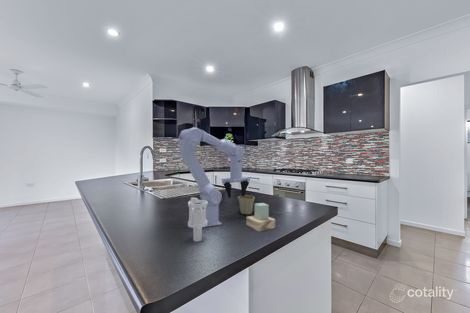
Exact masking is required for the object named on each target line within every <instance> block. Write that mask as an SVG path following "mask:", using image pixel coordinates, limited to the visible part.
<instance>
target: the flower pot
mask: <svg viewBox="0 0 470 313" xmlns="http://www.w3.org/2000/svg"><path fill="white" fill-rule="evenodd" d="M237 199H238V202H239V209H240V214H243V215H251V214H252V213H253V207H254V202H255V199H256V197H255V196H254V195H247V194H245V196H242V195H239V196H237Z"/></svg>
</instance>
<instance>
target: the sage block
mask: <svg viewBox="0 0 470 313" xmlns="http://www.w3.org/2000/svg"><path fill="white" fill-rule="evenodd" d="M269 207H270V205H269V204H267V203H265V202H258V203H254V216H255V218H257V219H258V220H264V219H269V217H270V216H269V215H270V214H269V212H270V209H269Z"/></svg>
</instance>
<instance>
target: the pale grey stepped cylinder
mask: <svg viewBox="0 0 470 313" xmlns="http://www.w3.org/2000/svg"><path fill="white" fill-rule="evenodd" d="M207 205H208V201H206V200H202V199H198V198H197V197H190V200H189V201H188V202H187V206H188V216H189V217H188V221H187V226H188V228H191V229H192V230H193V234H192V235H193V236H192V237H193V238H192V241H194V242H201V241H203V240H202V239H203V238H202V237H203V236H202V235H203V234H202V233H203V228H206V227H205V226H207V220H206V206H207ZM198 207H200V209H197V208H198ZM202 207H203V209H202Z"/></svg>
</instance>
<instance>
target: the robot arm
mask: <svg viewBox="0 0 470 313" xmlns="http://www.w3.org/2000/svg"><path fill="white" fill-rule="evenodd" d="M177 140H178V144H179V155H180V156H181V159H182V160H183V162H184V164H185V165H186V167H187V169H188V171H189V172H190V174H191V176H192V177H193V179H194V181H195V183H196V184H197V186H198V192H199V196H200V197H199V198H200V200H206V201H208V205H207V206H206V220H207V226H205V227H204V228H206V227H207V228H208V227H213V226H214V227H215V226H220V225H223V223H222V222H221V221H219V208H220V206H219V205H220V202H221V201H222V199H223V198H222V197H223V196H222V193H221V191H219V190H218V189H217V188H216V186H215V185H214V184H213V183H212V182H211V181H210V178H208V175H207V174H206V172H205V170H204V168H203V167H202V165H201V163H200V161H199V159H198V157H197V155H196V154H195V150H196V148H197V146H198V144H200V142H205V143H207V144H210V145H212V146H215V147H216V149H217V150H218V151H220V152H222V153H224V154H226V155H228V156H229V159H230V160H229V162H230V164H229V166H230V167H229V168H230V177H229V178H222V179H221V183H222V184H223V186H224V188H225V191H226V195H227V198H230V199H231V197H232V185H233V184H232V183H240V188H241V189H240V191H241V194H240V196H245V195H246V192H247V188H248V187H249V184H250V178H251V177H248V176H247V177H245V176H244V177H243V175H242V174H243V168H242V163H243V157H244V155H245V151H244V148H243V147H242V146H241V145H236V143H234V142H231V141H229V139H227V138H222V139H219V138H217V137H215V136H213V135H211V134H209V133H207V132H206V131H205V130H203V129H200V128H199V127H195V126H194V127H191V128H187V129H182V130H181V131H180V133H179V136H178V139H177ZM196 209H200V207H198V208H196ZM202 209H203V207H202Z"/></svg>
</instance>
